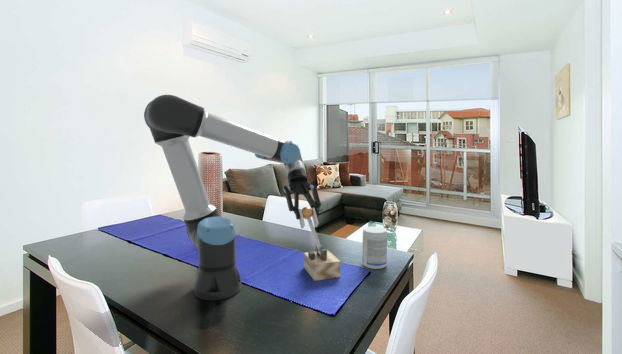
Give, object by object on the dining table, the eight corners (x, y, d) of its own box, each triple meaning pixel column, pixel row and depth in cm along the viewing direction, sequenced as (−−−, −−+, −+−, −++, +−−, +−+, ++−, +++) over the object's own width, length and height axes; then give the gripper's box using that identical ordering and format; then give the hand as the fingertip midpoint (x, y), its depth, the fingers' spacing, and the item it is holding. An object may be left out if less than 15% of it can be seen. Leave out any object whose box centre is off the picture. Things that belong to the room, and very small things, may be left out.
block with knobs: (314, 280, 110) (314, 255, 109) (304, 267, 121) (304, 244, 120) (340, 276, 113) (340, 251, 112) (327, 264, 124) (328, 241, 123)
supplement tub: (391, 266, 123) (393, 230, 121) (374, 272, 117) (375, 234, 116) (373, 258, 131) (375, 224, 129) (357, 263, 125) (357, 228, 124)
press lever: (319, 260, 114) (300, 211, 109) (315, 255, 118) (297, 208, 113) (329, 254, 115) (311, 206, 110) (325, 250, 119) (308, 203, 114)
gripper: (314, 178, 128) (329, 228, 115) (273, 180, 122) (284, 233, 109) (319, 167, 122) (335, 218, 109) (276, 168, 117) (287, 222, 103)
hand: (309, 225), depth 109 cm, fingers closed on press lever, 4 cm apart
